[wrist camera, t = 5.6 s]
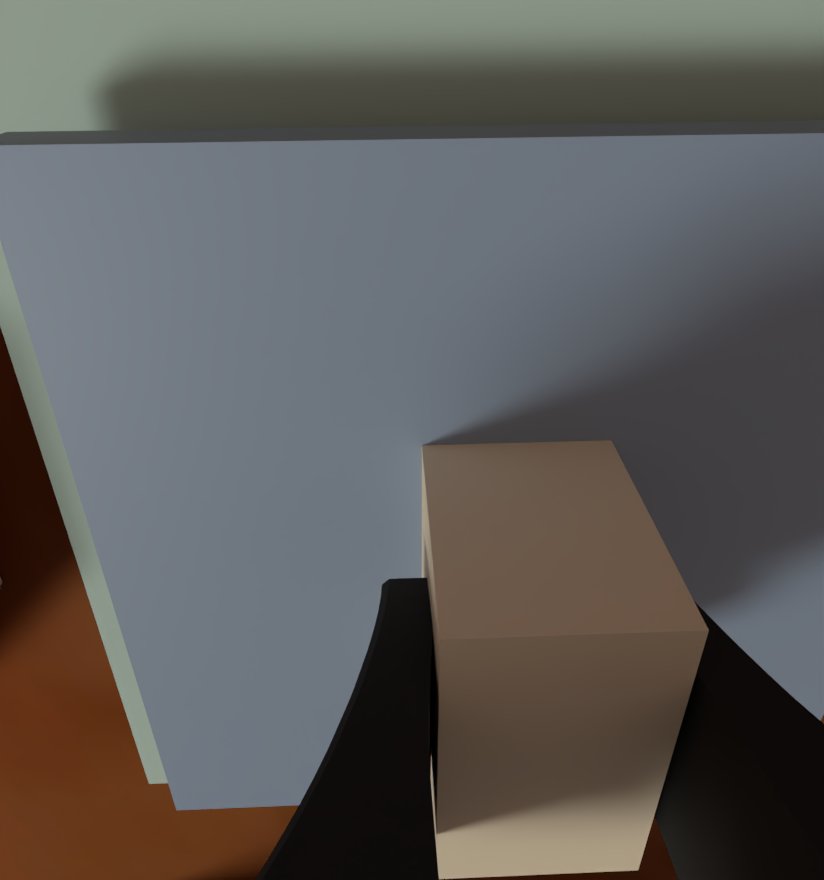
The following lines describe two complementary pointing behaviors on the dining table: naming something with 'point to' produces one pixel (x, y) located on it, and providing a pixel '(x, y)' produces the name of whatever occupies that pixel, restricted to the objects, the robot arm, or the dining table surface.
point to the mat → (372, 108)
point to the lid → (440, 441)
